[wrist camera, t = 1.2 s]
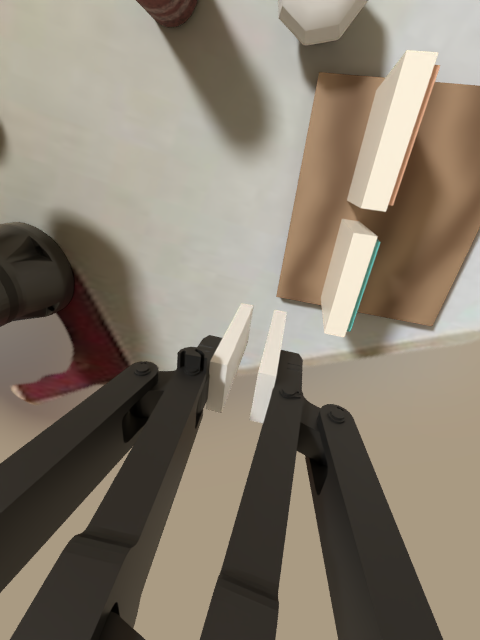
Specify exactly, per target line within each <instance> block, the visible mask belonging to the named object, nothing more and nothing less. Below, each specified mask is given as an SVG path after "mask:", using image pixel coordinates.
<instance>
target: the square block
mask: <svg viewBox="0 0 480 640" xmlns="http://www.w3.org/2000/svg"><path fill="white" fill-rule="evenodd" d="M377 237H378V236H377V235H375V234H374V233H373V232H372V231H370V230H369V229H368V228H367V227H366V226H364V225H363V224H362V223H361V222H360V221H353V220H347V219H342V220H341V224H340V228H339V232H338V235H337V239H336V243H335V247H334V250H333V254H332V258H331V262H330V265H329V269H328V273H327V276H326V280H325V284H324V288H323V291H322V295H321V305H322V315H323V324H324V333H326V334H330V335H335V336H340V337H345V334H346V331H349V332H350V331H351V329H352V326H353V323H354V320H355V317H356V314H357V311H358V308H359V305H360V302H361V299H362V296H363V293H364V290H365V287H366V284H367V281H368V278H369V275H370V272H371V269H372V266H373V263H374V260H375V257H376V254H377V251H378V248H379V246H380V243H381V242H380V241H379V240H377Z"/></svg>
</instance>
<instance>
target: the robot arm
mask: <svg viewBox="0 0 480 640" xmlns="http://www.w3.org/2000/svg"><path fill="white" fill-rule="evenodd" d="M73 292H74V278H73V273H72V270H71V267H70V264H69V262H68V260H67V258H66V256H65V255H64V253H63V252H62V250H61V249H60V248H59V246H58V245H57V244H56V243H55V242H54V241H53V240H52V239H51V238H50V237H49V236H48V235H47V234H45V233H44V232H43V231H41V230H39V229H38V228H36V227H34V226H31V225H29V224H26V223H20V222H12V223H5V224H0V327H1V326H3V325H5V324H7V323H10V322H12V321H17V320H25V319H32V318H39V317H46V316H49V315H52V314H54V313H56V312H58V311H60V310H62V309H63V308H65V307H66V306H67V305H68V304H69V302H70V301H71V299H72V296H73ZM252 311H253V305H248V304H243V303H241V305H240V307H239V309H238V311H237V312H236V314H235V316H234V318H233V320H232V322H231V324H230V325H229V327H228V329H227V331H226V333H225V335H224V337H223V338H220V337H215V336H211V335H209V336H207V337H205V338H204V339H203V340H202V341H201V343H200V344H199V346H198V347H187V348H184V349H181V350H180V351H179V352H178V360H177V369H176V370H175V371H158V367H157V366H156V365H155V364H154V363H151V362H137V363H134V364H132V365H131V366H129V367H128V368H126V369H125V370H124V371H123V372H121V373H120V374H119V375H117V376H116V377H115V378H113V379H112V380H111V381H109V382H108V383H107V384H105V385H104V386H103V387H101V388H100V389H99V390H97V391H96V392H95V393H93V394H92V395H91V396H89V397H88V398H87V399H85V400H84V401H83V402H82V403H80V404H79V405H78V406H76V407H75V408H73V409H72V410H71V411H69V412H68V413H67V414H66V415H64V416H63V417H62V418H60V419H59V420H58V421H56V422H55V423H54V424H53V425H51V426H50V427H48V428H47V429H46V430H44V431H43V432H42V433H40V434H39V435H38V436H36V437H35V438H34V439H33V440H31V441H30V442H28V443H27V444H26V445H24V446H23V447H22V448H20V449H19V450H18V451H16V452H15V453H14V454H12V455H11V456H10V457H9V458H7V459H6V460H5V461H3V462H2V463H1V464H0V593H1V591H2V590H3V589H4V588H5V587H6V586H7V584H9V583H10V581H11V580H12V579H13V578H14V577H15V576H16V575H17V574H18V573H19V571H20V570H21V569H22V568H23V567H24V566H25V565H26V564H27V562H28V561H29V560H30V559H31V558H32V557H33V556H34V555H35V554H36V553H37V552H38V550H39V549H40V548H41V547H42V546H43V545H44V544H45V543H46V542H47V541H48V539H49V538H50V537H51V536H52V535H53V534H54V533H55V531H57V529H58V528H59V527H60V526H61V525H62V524H63V523H64V522H65V521H66V519H67V518H68V517H69V516H70V515H71V514H72V513H73V512H74V511H75V510H76V508H77V507H78V506H79V505H80V504H81V503H82V502H83V501H84V499H85V498H86V497H87V496H88V495H89V494H90V493H91V492H92V491H93V490H94V488H95V487H96V486H97V485H98V484H99V483H100V482H101V481H102V480H103V479H104V477H105V476H106V475H107V474H108V473H109V472H110V471H111V470H112V468H114V466H115V465H116V464H117V463H118V462H119V461H120V460H121V459H122V458H123V456H124V455H125V454H126V453H127V452H128V451H129V450H130V449H131V448H132V449H131V451H130V453H129V454H128V456H127V458H126V460H125V461H124V463H123V465H122V467H121V469H120V471H119V472H118V474H117V476H116V477H115V479H114V481H113V483H112V484H111V486H110V488H109V490H108V492H107V493H106V495H105V497H104V499H103V501H102V502H101V504H100V506H99V507H98V509H97V511H96V513H95V515H94V516H93V518H92V520H91V522H90V524H89V525H88V527H87V528H86V530H85V531H84V532H83V533H81V534H78V535H75V536H74V537H73V538H72V539H71V540H70V541H69V542H68V544H67V545H66V547H65V548H64V550H63V551H62V553H61V555H60V556H59V558H58V560H57V561H56V563H55V565H54V567H53V568H52V570H51V572H50V573H49V575H48V577H47V578H46V580H45V581H44V583H43V585H42V587H41V588H40V590H39V592H38V593H37V595H36V597H35V598H34V600H33V602H32V603H31V605H30V607H29V609H28V610H27V612H26V613H25V615H24V617H23V618H22V620H21V622H20V624H19V625H18V627H17V629H16V631H15V632H14V634H13V635H12V637H11V639H10V640H145V639H144V638H143V637H142V636H141V635H140V634H139V633H137V632H136V631H135V630H134V629H133V627H134V624H135V619H136V616H137V612H138V607H139V602H140V597H141V594H142V591H143V588H144V585H145V582H146V579H147V576H148V573H149V570H150V567H151V564H152V562H153V559H154V556H155V553H156V550H157V547H158V544H159V541H160V538H161V536H162V533H163V530H164V527H165V524H166V521H167V518H168V515H169V512H170V509H171V506H172V504H173V501H174V498H175V495H176V492H177V489H178V486H179V483H180V481H181V478H182V475H183V472H184V469H185V466H186V463H187V460H188V457H189V454H190V452H191V449H192V446H193V443H194V440H195V437H196V434H197V431H198V428H199V426H200V423H201V420H202V416H203V408H204V406H205V403H206V409H208V410H212V411H216V412H220V413H221V412H222V410H223V408H224V405H225V402H226V400H227V397H228V394H229V391H230V389H231V386H232V383H233V381H234V378H235V375H236V373H237V370H238V367H239V365H240V362H241V359H242V357H243V354H244V351H245V349H246V346H247V343H248V337H249V331H250V324H251V318H252ZM286 314H287V312H283V311H278V310H274V314H273V318H272V322H271V326H270V329H269V333H268V337H267V341H266V345H265V349H264V353H263V356H262V360H261V364H260V368H259V372H258V377H257V383H256V388H255V393H254V399H253V404H252V410H251V415H250V420H251V421H256V422H260V423H263V426H262V429H261V433H260V437H259V440H258V443H257V447H256V451H255V454H254V457H253V461H252V464H251V468H250V471H249V475H248V478H247V482H246V485H245V489H244V492H243V496H242V499H241V503H240V506H239V510H238V514H237V517H236V520H235V524H234V527H233V531H232V534H231V538H230V541H229V545H228V548H227V552H226V556H225V559H224V562H223V566H222V570H221V572H220V575H219V577H218V580H217V583H216V586H215V589H214V592H213V596H212V599H211V603H210V606H209V610H208V613H207V617H206V620H205V623H204V627H203V630H202V634H201V637H200V640H275V637H276V628H277V620H278V609H279V601H278V588H279V580H280V572H281V565H282V557H283V550H284V542H285V535H286V527H287V520H288V512H289V505H290V497H291V489H292V482H293V474H294V467H295V459H296V451H298V452H300V453H302V454H304V455H305V456H306V458H305V459H306V464H307V470H308V475H309V481H310V487H311V492H312V497H313V503H314V509H315V513H316V519H317V525H318V531H319V536H320V542H321V547H322V553H323V558H324V564H325V569H326V575H327V580H328V586H329V591H330V597H331V602H332V608H333V613H334V618H335V624H336V630H337V635H338V640H443V638H442V636H441V633H440V631H439V628H438V626H437V623H436V621H435V618H434V616H433V613H432V611H431V609H430V606H429V604H428V602H427V599H426V596H425V594H424V591H423V589H422V586H421V584H420V581H419V579H418V577H417V574H416V572H415V569H414V567H413V564H412V562H411V559H410V557H409V554H408V552H407V549H406V547H405V545H404V542H403V540H402V537H401V535H400V532H399V530H398V527H397V525H396V523H395V520H394V518H393V515H392V513H391V510H390V508H389V505H388V503H387V500H386V498H385V495H384V493H383V490H382V488H381V485H380V483H379V480H378V478H377V475H376V473H375V471H374V468H373V466H372V463H371V461H370V458H369V456H368V453H367V451H366V448H365V446H364V443H363V441H362V439H361V436H360V434H359V431H358V429H357V427H356V424H355V422H354V419H353V417H352V415H351V414H350V413H349V412H348V411H347V410H346V409H344V408H342V407H340V406H337V405H334V404H327V405H324V406H322V408H319V407H317V406H315V405H313V404H311V403H310V402H308V401H307V400H306V399H305V398H304V396H303V393H302V362H303V360H302V358H301V357H300V355H299V354H298V353H293V352H288V351H284V350H281V345H282V339H283V333H284V327H285V321H286ZM133 445H134V446H133ZM132 446H133V447H132Z"/></svg>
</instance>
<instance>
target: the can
mask: <svg viewBox="0 0 480 640" xmlns="http://www.w3.org/2000/svg"><path fill="white" fill-rule="evenodd" d="M136 1H137V2H138V3H139V4H140V5H141V6H142V7H143V8H144V9H145V10H146V11H147V12H148V13H149V14H150V15H151V16H152V17H153V18H154V19H155V20H156V21H157V22H158V23H159V24H161V25H163V26H166V27H177V26H179V25H181V24H183V23H185V22H186V21H187V19H188V18H189V17H190V16H191V15H192V13H193V11H194V9H195V6H196V4H197V0H136Z"/></svg>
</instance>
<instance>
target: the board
mask: <svg viewBox="0 0 480 640" xmlns="http://www.w3.org/2000/svg"><path fill="white" fill-rule="evenodd" d="M384 79H385V78H381V77H370V76H358V75H346V74H334V73H323V72H319V76H318V81H317V86H316V91H315V97H314V102H313V107H312V112H311V118H310V123H309V128H308V133H307V139H306V144H305V149H304V154H303V160H302V165H301V170H300V175H299V180H298V186H297V191H296V196H295V201H294V207H293V212H292V217H291V222H290V228H289V233H288V238H287V243H286V249H285V254H284V259H283V264H282V270H281V275H280V280H279V285H278V290H277V296H276V297H281V298H286V299H292V300H297V301H302V302H307V303H313V304H318V305H321V295H322V291H323V288H324V284H325V280H326V276H327V273H328V269H329V265H330V262H331V258H332V254H333V250H334V247H335V243H336V239H337V235H338V232H339V228H340V224H341V220H342V219H347V220H353V221H360V222H361V223H362V224H363V225H364V226H366V227H367V228H368V229H369V230H370V231H372V232H373V233H374V234H375V235H377V236H378V237H377V240H379V241H380V242H381V243H380V246H379V248H378V251H377V254H376V257H375V260H374V263H373V266H372V269H371V272H370V275H369V278H368V281H367V284H366V287H365V290H364V293H363V296H362V299H361V302H360V305H359V308H358V311H357V312H360V313H365V314H370V315H375V316H381V317H386V318H391V319H396V320H402V321H407V322H412V323H417V324H423V325H428V326H433V324H434V322H435V319H436V317H437V315H438V313H439V311H440V309H441V307H442V305H443V303H444V301H445V299H446V297H447V294H448V292H449V290H450V288H451V286H452V284H453V282H454V280H455V278H456V276H457V274H458V272H459V270H460V267H461V265H462V263H463V261H464V259H465V257H466V255H467V253H468V251H469V249H470V247H471V245H472V242H473V240H474V238H475V236H476V234H477V232H478V230H479V228H480V86H475V85H463V84H452V83H440V82H434V85H433V88H432V91H431V94H430V97H429V100H428V103H427V106H426V109H425V112H424V115H423V118H422V121H421V124H420V127H419V130H418V133H417V136H416V139H415V142H414V145H413V148H412V151H411V154H410V157H409V160H408V162H407V165H406V168H405V171H404V174H403V177H402V180H401V183H400V186H399V189H398V192H397V195H396V198H395V201H394V204H393V206H392V205H388V207H387V210H386V212H384V211H377V210H370V209H363V208H360V207H358V206H356V205H354V204H352V203H351V202H349V201H347V198H348V194H349V190H350V187H351V183H352V179H353V175H354V172H355V168H356V164H357V160H358V157H359V153H360V149H361V145H362V142H363V138H364V134H365V131H366V127H367V123H368V119H369V116H370V112H371V108H372V104H373V101H374V97H375V93H376V90H377V89H378V87H379V86H380V85H381V83H382V82H383V81H384Z"/></svg>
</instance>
